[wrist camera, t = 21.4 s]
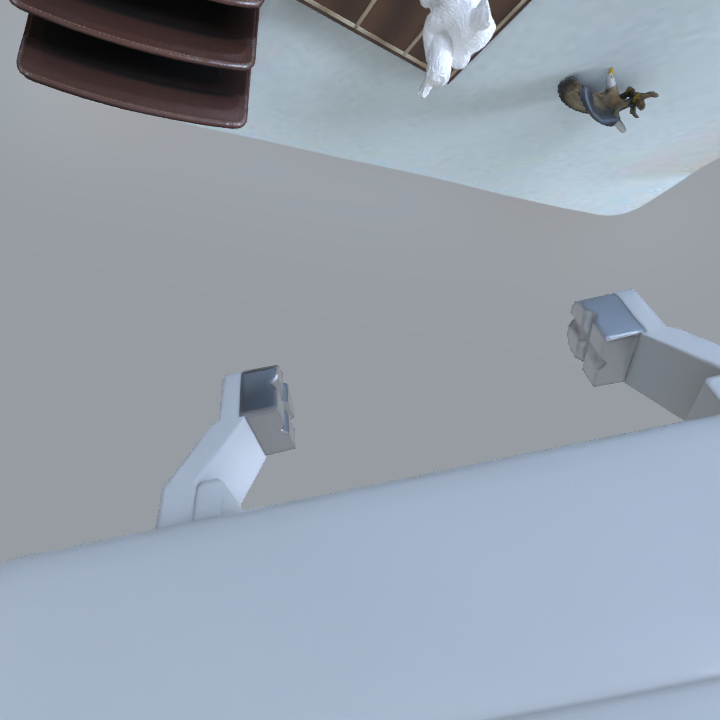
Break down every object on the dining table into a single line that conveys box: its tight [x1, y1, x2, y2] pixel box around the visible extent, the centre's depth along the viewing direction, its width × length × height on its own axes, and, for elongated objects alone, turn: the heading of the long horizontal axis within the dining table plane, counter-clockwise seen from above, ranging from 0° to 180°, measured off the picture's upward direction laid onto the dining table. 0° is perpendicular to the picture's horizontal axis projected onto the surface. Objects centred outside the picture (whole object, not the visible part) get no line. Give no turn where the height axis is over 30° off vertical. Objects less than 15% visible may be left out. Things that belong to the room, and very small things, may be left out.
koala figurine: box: [417, 0, 496, 98], centre depth 44 cm, size 8×7×12 cm
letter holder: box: [10, 0, 264, 129], centre depth 44 cm, size 10×20×14 cm, turn 70°
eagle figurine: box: [558, 68, 659, 133], centre depth 59 cm, size 8×7×9 cm
